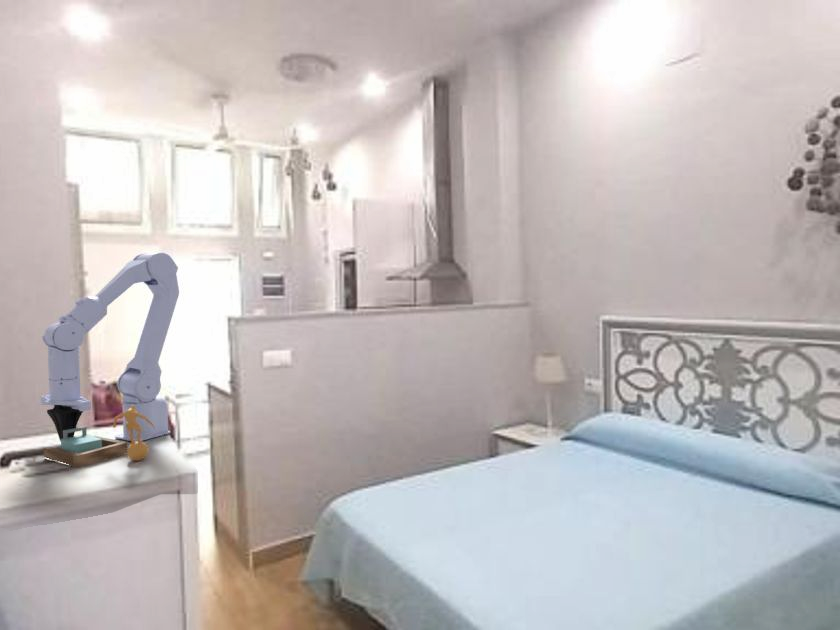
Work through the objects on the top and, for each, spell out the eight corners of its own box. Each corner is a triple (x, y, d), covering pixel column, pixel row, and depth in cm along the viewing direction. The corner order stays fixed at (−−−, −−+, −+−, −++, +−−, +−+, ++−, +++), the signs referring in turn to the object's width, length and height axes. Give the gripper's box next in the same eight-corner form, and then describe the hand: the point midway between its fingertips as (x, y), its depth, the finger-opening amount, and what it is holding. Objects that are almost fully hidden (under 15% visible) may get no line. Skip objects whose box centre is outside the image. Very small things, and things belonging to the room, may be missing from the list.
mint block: (87, 450, 126) (86, 425, 126) (102, 455, 122) (101, 430, 122) (61, 455, 122) (60, 430, 122) (75, 462, 118) (75, 436, 118)
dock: (95, 446, 130) (94, 435, 130) (127, 453, 124) (127, 442, 124) (44, 459, 120) (43, 448, 120) (77, 467, 115) (76, 456, 115)
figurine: (162, 457, 122) (160, 401, 121) (149, 466, 116) (147, 407, 115) (122, 457, 122) (121, 401, 121) (107, 466, 116) (105, 407, 115)
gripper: (25, 378, 124) (27, 440, 125) (66, 383, 118) (68, 449, 118) (58, 373, 130) (60, 432, 131) (99, 378, 124) (101, 440, 125)
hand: (66, 440), depth 125 cm, fingers closed
